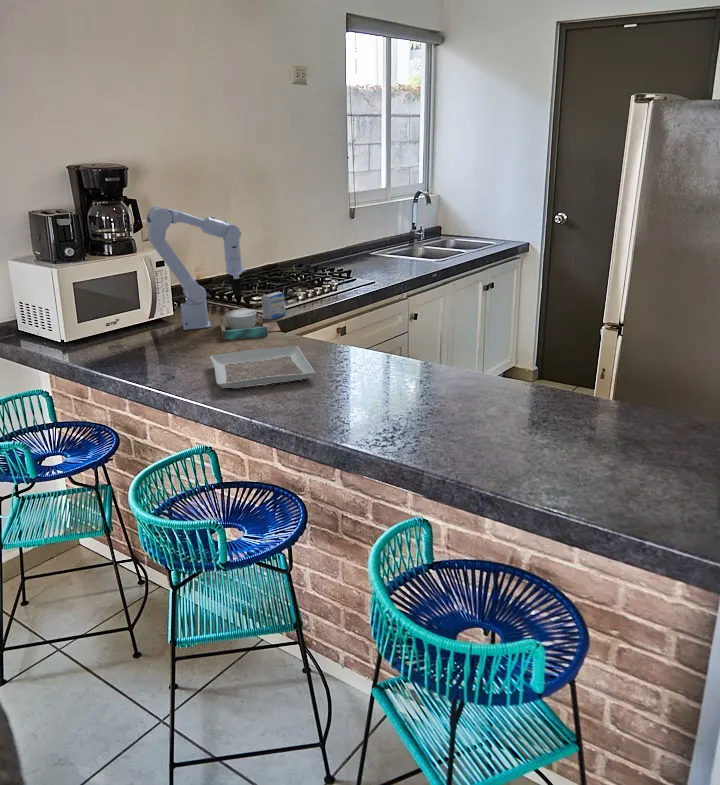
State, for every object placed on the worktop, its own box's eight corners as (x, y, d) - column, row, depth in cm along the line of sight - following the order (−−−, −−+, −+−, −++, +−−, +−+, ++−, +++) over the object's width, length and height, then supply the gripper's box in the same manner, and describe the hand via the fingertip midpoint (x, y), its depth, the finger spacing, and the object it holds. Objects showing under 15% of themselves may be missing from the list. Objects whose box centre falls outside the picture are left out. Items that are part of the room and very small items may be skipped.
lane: (223, 340, 240) (222, 331, 239) (220, 325, 258) (219, 317, 257) (282, 334, 244) (281, 325, 243) (274, 319, 262) (274, 312, 261)
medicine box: (271, 319, 262) (269, 296, 259) (262, 318, 265) (260, 295, 262) (286, 315, 268) (284, 292, 265) (277, 313, 271) (275, 291, 268)
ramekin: (251, 331, 249) (250, 317, 247) (221, 331, 251) (219, 316, 249) (261, 323, 259) (260, 309, 257) (233, 322, 261) (231, 308, 259)
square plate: (218, 396, 190) (216, 383, 189) (210, 366, 215) (209, 354, 214) (316, 383, 197) (316, 370, 195) (298, 355, 222) (297, 343, 220)
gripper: (246, 260, 250) (249, 298, 255) (242, 253, 264) (246, 289, 268) (225, 262, 249) (230, 299, 254) (223, 255, 262) (227, 291, 267)
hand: (237, 294), depth 261 cm, fingers open, 4 cm apart
